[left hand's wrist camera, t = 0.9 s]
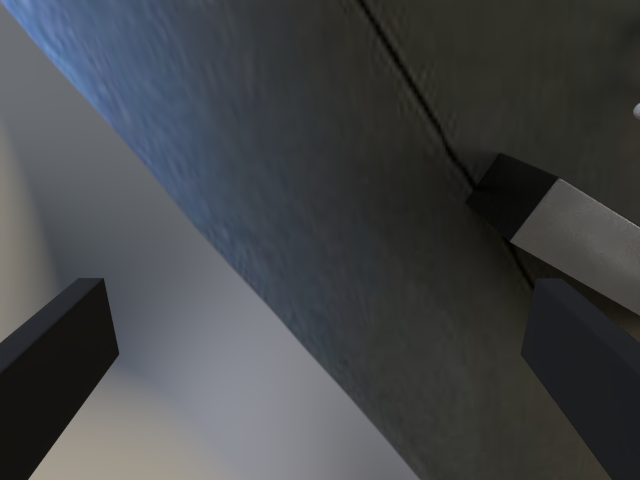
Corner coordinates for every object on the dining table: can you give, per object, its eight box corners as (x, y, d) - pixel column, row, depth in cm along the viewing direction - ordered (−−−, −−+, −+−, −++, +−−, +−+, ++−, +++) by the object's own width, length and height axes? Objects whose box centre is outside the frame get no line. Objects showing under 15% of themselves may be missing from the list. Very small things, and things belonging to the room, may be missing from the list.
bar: (464, 202, 36) (509, 242, 27) (500, 152, 34) (559, 177, 26) (669, 320, 40) (763, 386, 31) (709, 279, 38) (819, 337, 30)
